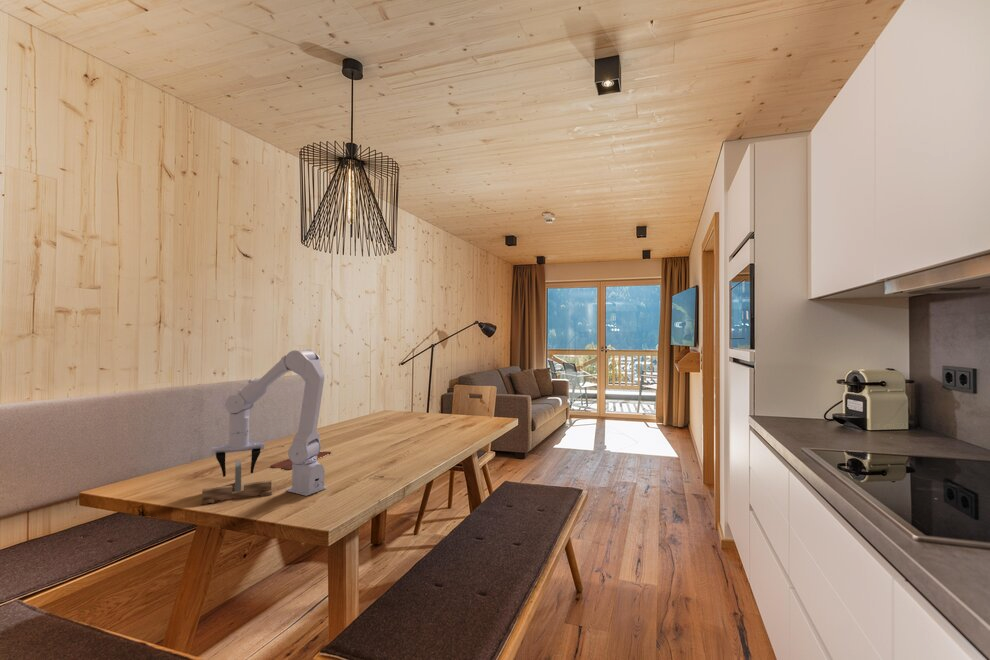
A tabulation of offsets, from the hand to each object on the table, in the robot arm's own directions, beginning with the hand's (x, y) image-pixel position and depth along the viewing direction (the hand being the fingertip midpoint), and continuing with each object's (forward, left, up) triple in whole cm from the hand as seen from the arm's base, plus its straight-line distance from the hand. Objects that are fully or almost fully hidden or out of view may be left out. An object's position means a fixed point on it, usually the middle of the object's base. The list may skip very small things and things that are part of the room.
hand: (238, 474), depth 145 cm
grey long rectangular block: (0, 0, -4) cm, 4 cm away
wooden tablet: (+7, -32, -5) cm, 33 cm away
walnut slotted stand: (-9, +6, -4) cm, 11 cm away
